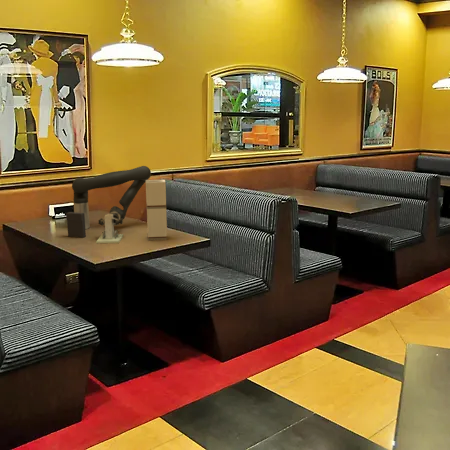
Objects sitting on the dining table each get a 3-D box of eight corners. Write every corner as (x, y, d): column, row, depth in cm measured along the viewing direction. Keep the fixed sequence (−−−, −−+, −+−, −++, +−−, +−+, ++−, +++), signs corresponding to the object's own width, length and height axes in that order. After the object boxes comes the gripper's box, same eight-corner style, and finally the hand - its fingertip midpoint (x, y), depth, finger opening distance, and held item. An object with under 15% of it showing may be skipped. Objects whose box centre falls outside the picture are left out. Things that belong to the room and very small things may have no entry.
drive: (105, 238, 328) (104, 215, 325) (107, 236, 334) (106, 214, 331) (112, 238, 328) (111, 215, 325) (114, 236, 334) (113, 213, 331)
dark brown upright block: (86, 236, 339) (85, 212, 336) (82, 238, 335) (81, 214, 332) (71, 235, 343) (69, 211, 340) (67, 236, 339) (65, 212, 336)
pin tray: (96, 243, 322) (96, 234, 321) (102, 236, 340) (101, 228, 338) (118, 243, 322) (118, 234, 321) (123, 236, 340) (122, 227, 339)
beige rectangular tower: (166, 235, 341) (164, 179, 333) (167, 239, 330) (165, 182, 323) (147, 236, 339) (145, 180, 332) (147, 240, 329) (146, 182, 321)
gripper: (101, 212, 342) (96, 217, 326) (124, 212, 342) (120, 217, 326) (102, 224, 343) (97, 230, 328) (125, 224, 344) (121, 229, 328)
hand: (108, 223), depth 327 cm, fingers open, 8 cm apart
